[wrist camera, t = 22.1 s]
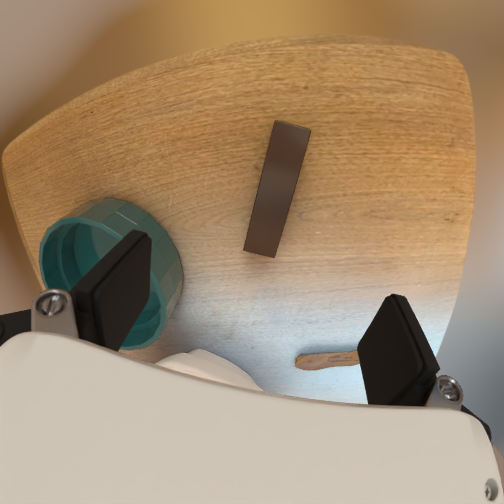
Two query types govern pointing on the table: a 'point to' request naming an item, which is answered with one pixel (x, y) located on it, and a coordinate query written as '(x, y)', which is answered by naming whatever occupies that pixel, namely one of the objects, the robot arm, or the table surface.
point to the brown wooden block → (276, 187)
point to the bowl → (209, 368)
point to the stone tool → (326, 360)
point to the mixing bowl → (99, 244)
